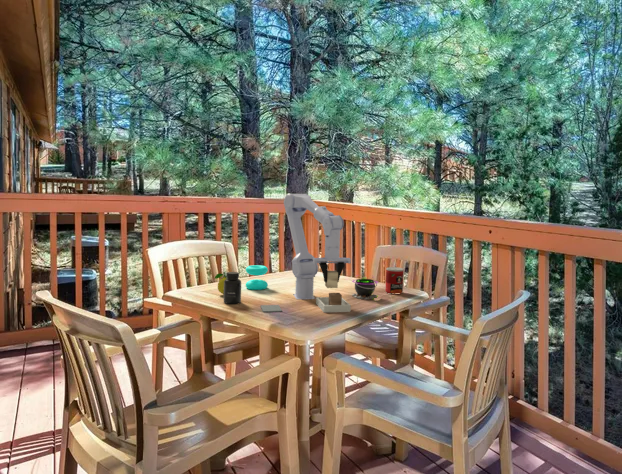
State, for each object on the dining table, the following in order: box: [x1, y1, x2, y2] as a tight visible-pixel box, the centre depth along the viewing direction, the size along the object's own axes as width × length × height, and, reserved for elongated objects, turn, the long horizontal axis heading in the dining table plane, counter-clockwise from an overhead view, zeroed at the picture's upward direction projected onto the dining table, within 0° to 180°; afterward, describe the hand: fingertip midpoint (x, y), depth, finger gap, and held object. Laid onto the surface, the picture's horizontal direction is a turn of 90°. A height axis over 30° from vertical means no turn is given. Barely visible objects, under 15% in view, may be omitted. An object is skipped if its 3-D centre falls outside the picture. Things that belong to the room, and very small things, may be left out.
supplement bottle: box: [223, 271, 242, 305], centre depth 199 cm, size 7×7×12 cm
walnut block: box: [328, 292, 343, 305], centre depth 189 cm, size 4×4×6 cm
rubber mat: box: [260, 304, 283, 313], centre depth 190 cm, size 9×9×1 cm
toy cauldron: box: [351, 273, 379, 301], centre depth 213 cm, size 15×15×11 cm
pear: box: [214, 271, 227, 296], centre depth 212 cm, size 7×6×10 cm
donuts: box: [245, 264, 269, 291], centre depth 227 cm, size 10×10×10 cm
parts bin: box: [315, 296, 352, 313], centre depth 193 cm, size 14×10×3 cm
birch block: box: [324, 270, 339, 289], centre depth 195 cm, size 4×4×6 cm
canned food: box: [384, 266, 404, 294], centre depth 224 cm, size 8×8×11 cm
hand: (331, 281), depth 195 cm, fingers closed on birch block, 4 cm apart
